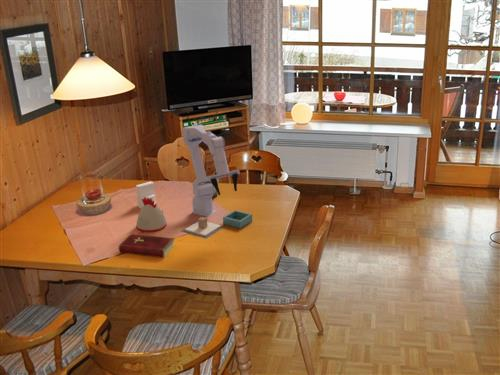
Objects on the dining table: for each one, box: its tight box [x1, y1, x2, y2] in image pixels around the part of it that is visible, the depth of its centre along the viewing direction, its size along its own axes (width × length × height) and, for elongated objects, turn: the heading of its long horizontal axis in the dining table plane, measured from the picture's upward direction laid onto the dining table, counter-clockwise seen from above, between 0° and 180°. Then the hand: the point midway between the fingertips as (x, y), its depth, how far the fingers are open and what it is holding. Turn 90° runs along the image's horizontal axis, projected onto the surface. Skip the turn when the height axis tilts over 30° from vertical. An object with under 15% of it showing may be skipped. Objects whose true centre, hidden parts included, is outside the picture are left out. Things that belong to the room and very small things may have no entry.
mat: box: [180, 220, 227, 240], centre depth 265 cm, size 15×15×1 cm
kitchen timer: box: [136, 197, 168, 234], centre depth 266 cm, size 14×14×15 cm
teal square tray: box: [222, 209, 253, 230], centre depth 270 cm, size 10×10×4 cm
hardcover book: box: [118, 233, 175, 258], centre depth 247 cm, size 12×21×4 cm, turn 74°
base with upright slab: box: [136, 180, 157, 210], centre depth 291 cm, size 9×9×12 cm
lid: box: [184, 216, 221, 236], centre depth 264 cm, size 12×12×5 cm
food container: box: [209, 174, 220, 200], centre depth 302 cm, size 12×6×10 cm, turn 168°
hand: (227, 193), depth 255 cm, fingers open, 7 cm apart
